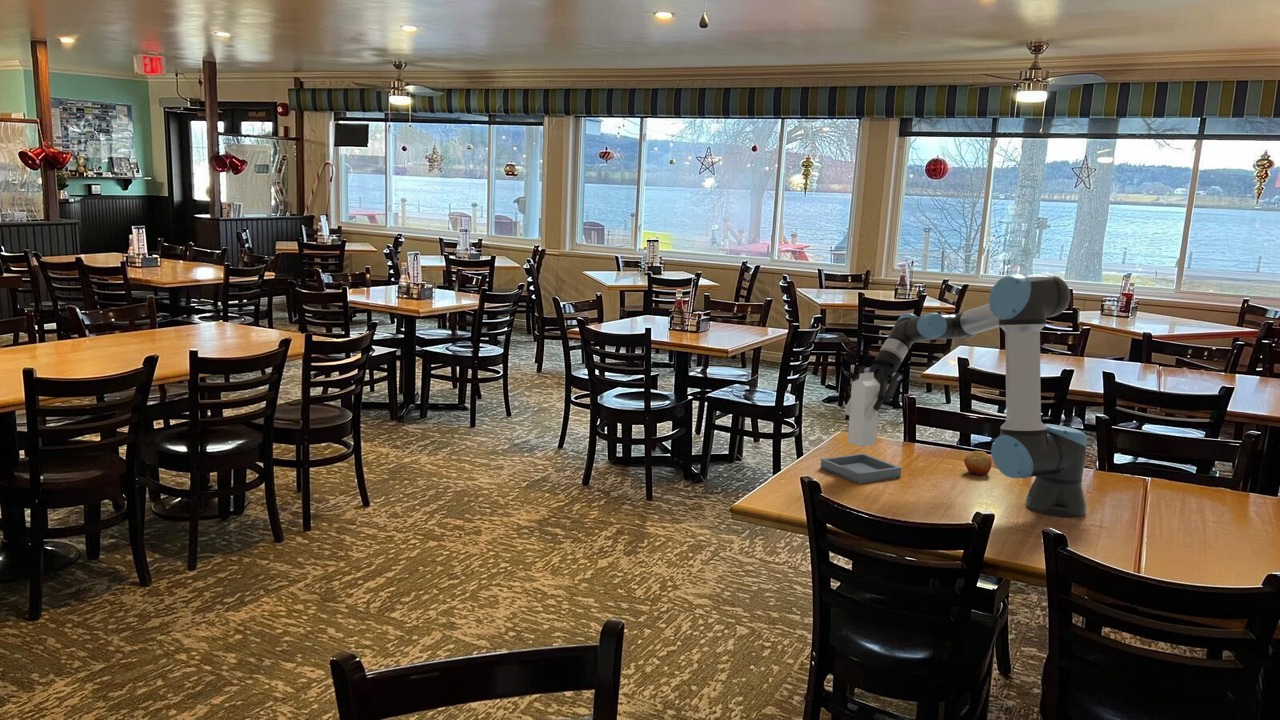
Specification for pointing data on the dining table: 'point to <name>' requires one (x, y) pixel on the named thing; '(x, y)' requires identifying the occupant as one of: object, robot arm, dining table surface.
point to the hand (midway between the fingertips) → (857, 414)
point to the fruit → (978, 463)
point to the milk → (863, 411)
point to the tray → (860, 468)
